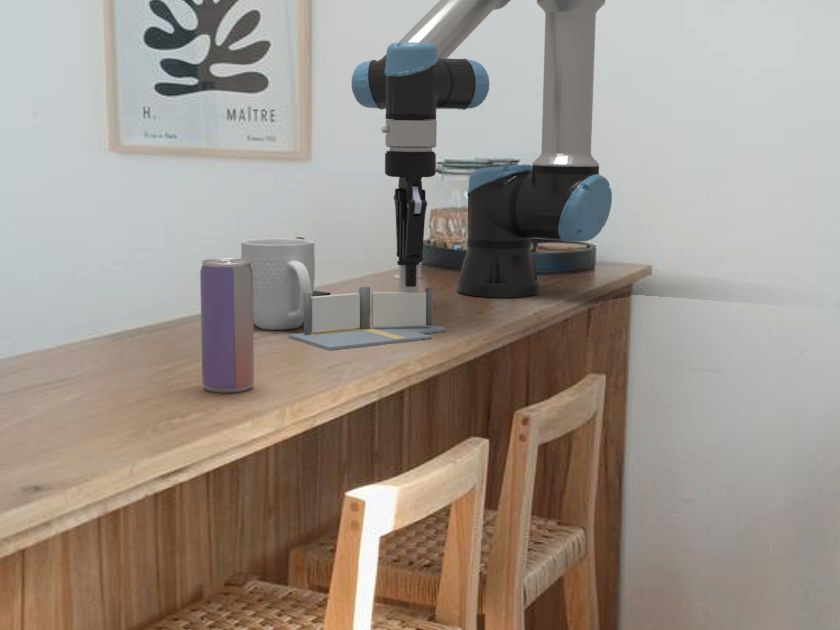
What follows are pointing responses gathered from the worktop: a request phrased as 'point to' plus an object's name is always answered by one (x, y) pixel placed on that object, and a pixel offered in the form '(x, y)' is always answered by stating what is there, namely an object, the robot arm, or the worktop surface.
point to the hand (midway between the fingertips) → (408, 307)
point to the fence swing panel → (402, 308)
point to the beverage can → (227, 325)
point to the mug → (280, 280)
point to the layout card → (366, 336)
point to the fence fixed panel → (337, 311)
